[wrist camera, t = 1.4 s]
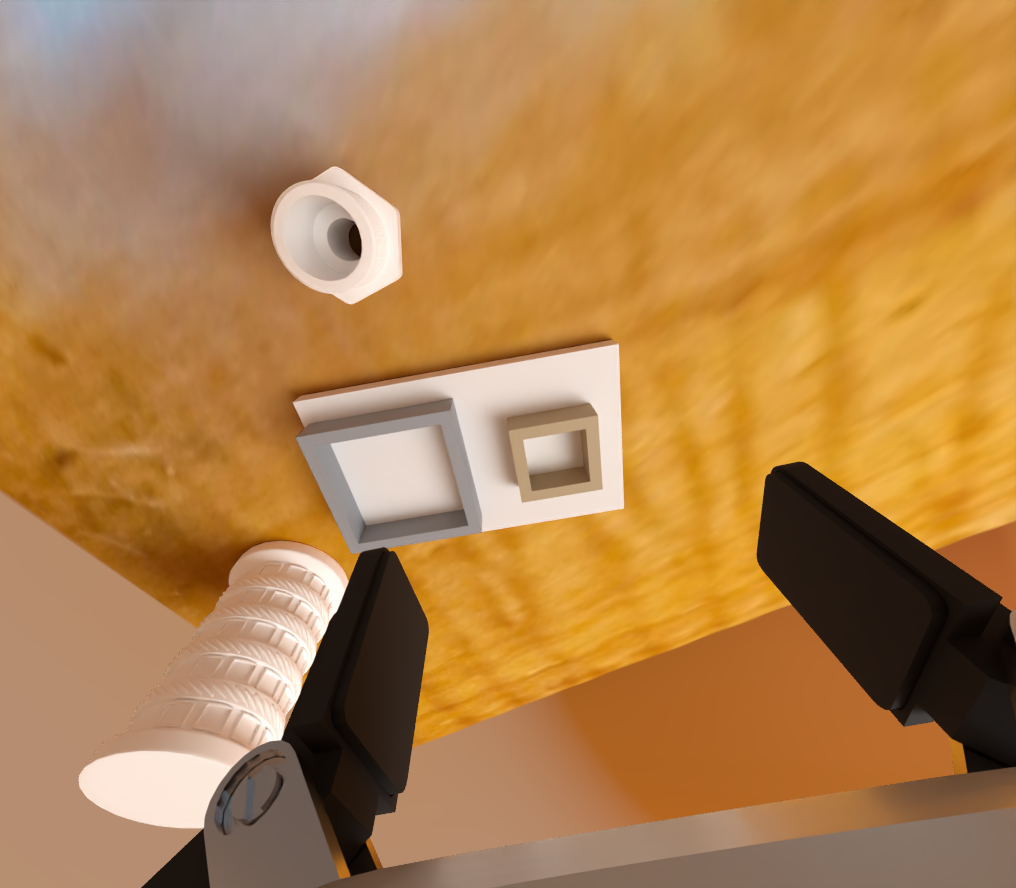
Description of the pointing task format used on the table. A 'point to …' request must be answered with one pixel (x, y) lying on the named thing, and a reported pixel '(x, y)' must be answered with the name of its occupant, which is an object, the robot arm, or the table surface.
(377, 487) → the board
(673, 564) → the table surface
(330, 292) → the pipe fitting
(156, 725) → the white carved column
